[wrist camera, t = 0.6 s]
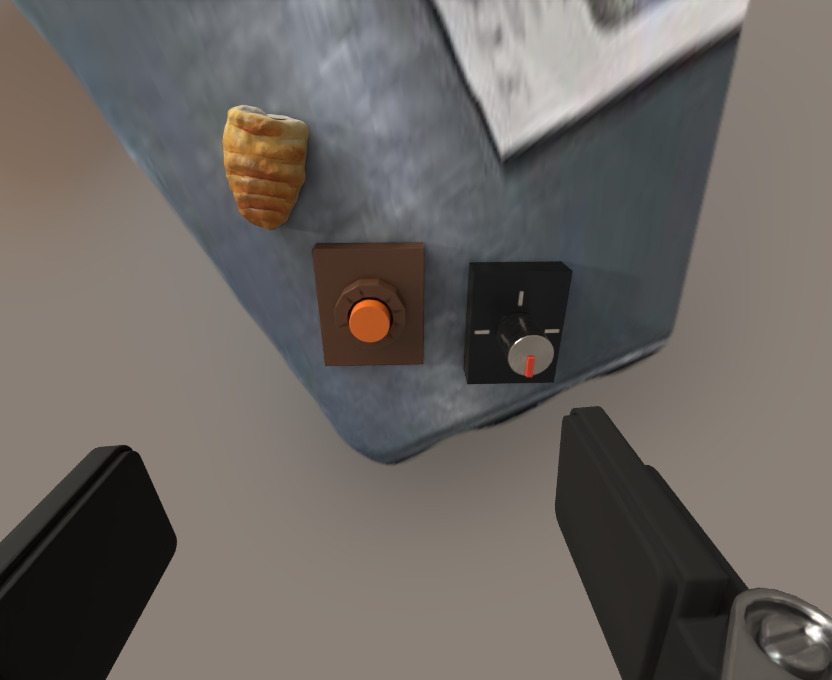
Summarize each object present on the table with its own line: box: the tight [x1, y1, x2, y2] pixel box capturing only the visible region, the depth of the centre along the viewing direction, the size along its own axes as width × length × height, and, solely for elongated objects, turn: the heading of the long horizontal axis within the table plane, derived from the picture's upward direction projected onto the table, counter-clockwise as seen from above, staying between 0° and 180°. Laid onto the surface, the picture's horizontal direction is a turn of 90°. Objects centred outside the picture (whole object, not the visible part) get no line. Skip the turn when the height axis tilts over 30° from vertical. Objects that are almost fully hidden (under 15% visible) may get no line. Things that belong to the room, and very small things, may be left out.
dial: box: [496, 313, 554, 377], centre depth 39 cm, size 4×4×5 cm
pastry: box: [222, 105, 310, 230], centre depth 35 cm, size 9×7×4 cm
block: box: [312, 242, 424, 366], centre depth 41 cm, size 12×10×4 cm
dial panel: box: [464, 262, 572, 384], centre depth 43 cm, size 12×9×3 cm
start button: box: [349, 299, 390, 342], centre depth 39 cm, size 4×4×2 cm
